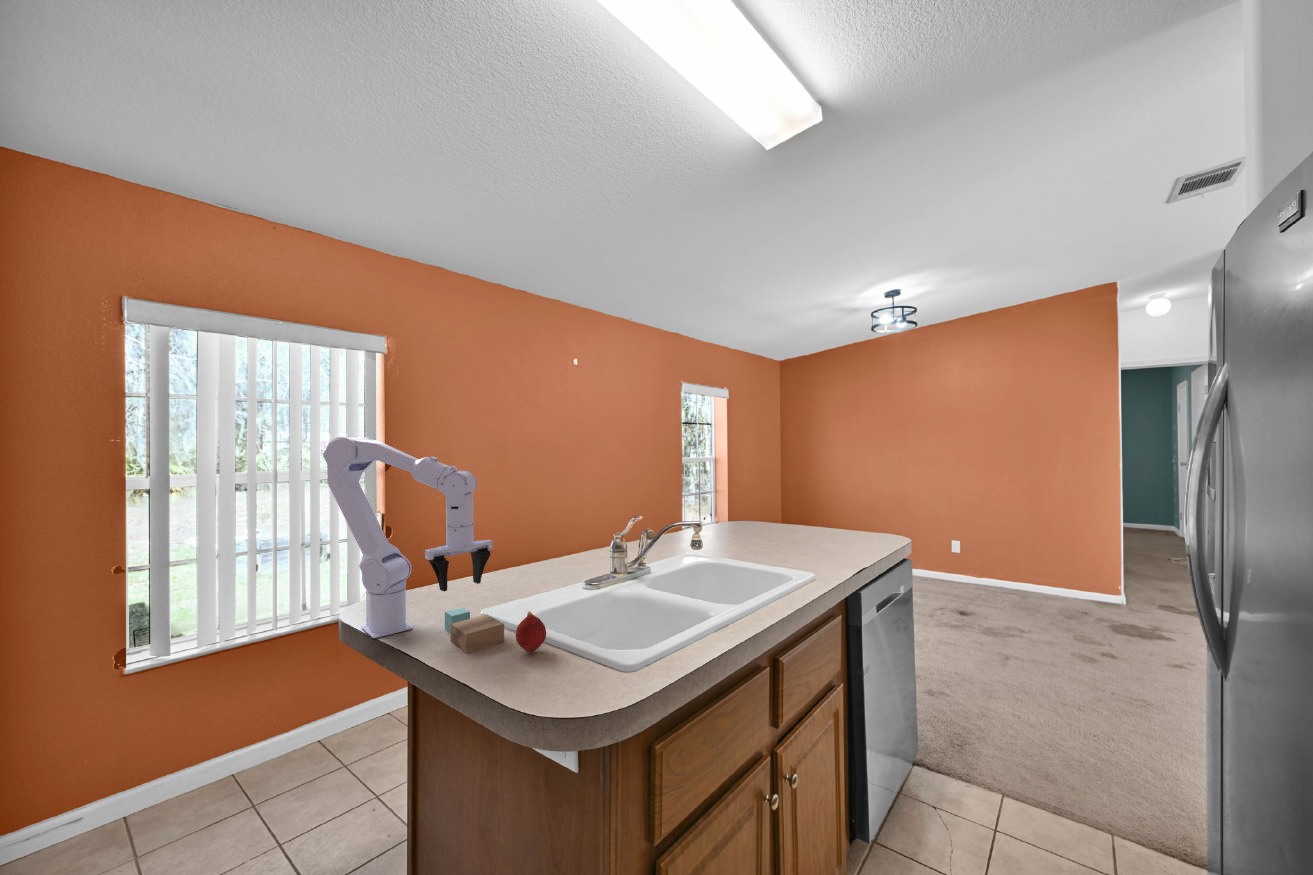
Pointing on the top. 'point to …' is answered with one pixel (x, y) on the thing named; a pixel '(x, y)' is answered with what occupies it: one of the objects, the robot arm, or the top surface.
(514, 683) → the top surface
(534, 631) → the onion
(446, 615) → the teal cube
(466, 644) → the walnut block
